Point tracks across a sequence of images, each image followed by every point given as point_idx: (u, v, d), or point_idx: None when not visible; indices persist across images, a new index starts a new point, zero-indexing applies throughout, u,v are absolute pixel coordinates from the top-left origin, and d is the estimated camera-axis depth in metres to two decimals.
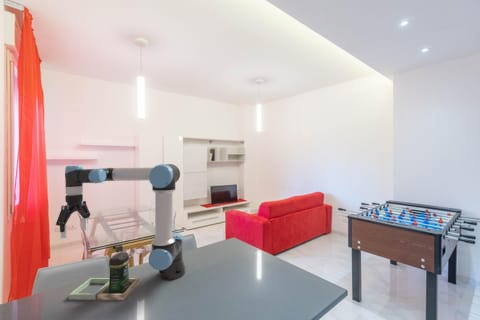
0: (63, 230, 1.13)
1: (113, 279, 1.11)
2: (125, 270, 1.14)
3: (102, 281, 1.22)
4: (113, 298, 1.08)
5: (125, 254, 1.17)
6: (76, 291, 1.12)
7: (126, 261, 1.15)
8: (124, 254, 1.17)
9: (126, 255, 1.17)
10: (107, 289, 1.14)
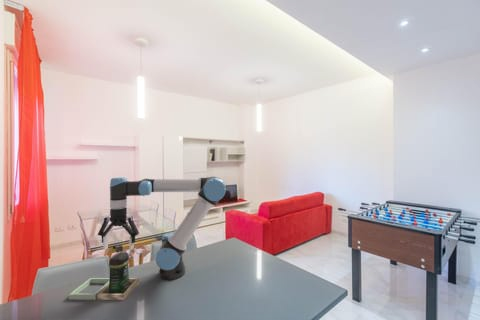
0: (102, 241, 1.15)
1: (113, 279, 1.11)
2: (125, 270, 1.14)
3: (102, 281, 1.22)
4: (113, 298, 1.08)
5: (125, 254, 1.17)
6: (76, 291, 1.12)
7: (126, 261, 1.15)
8: (124, 254, 1.17)
9: (126, 255, 1.17)
10: (107, 289, 1.14)
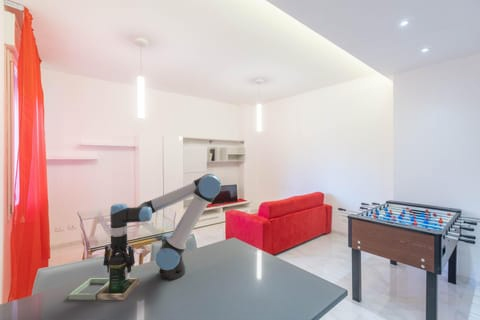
0: (108, 271, 1.15)
1: (112, 278, 1.11)
2: None
3: (102, 281, 1.22)
4: (113, 298, 1.08)
5: None
6: (76, 291, 1.12)
7: None
8: None
9: None
10: (107, 289, 1.14)
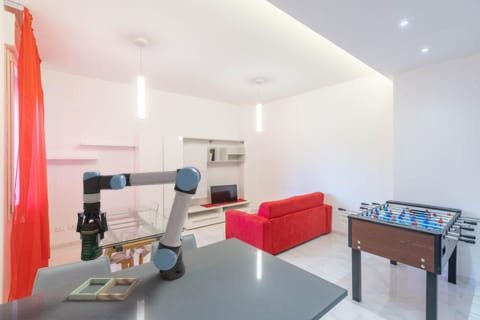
0: (81, 238, 1.15)
1: (84, 244, 1.11)
2: None
3: (102, 281, 1.22)
4: (113, 298, 1.08)
5: None
6: (76, 291, 1.12)
7: None
8: None
9: None
10: (107, 289, 1.14)
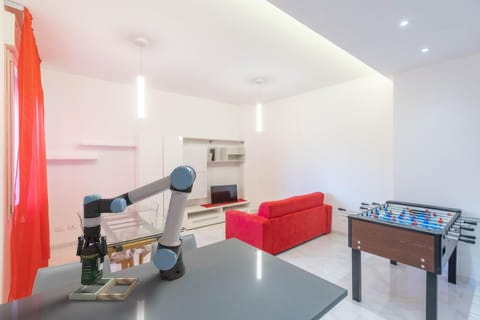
0: (81, 261, 1.15)
1: (85, 269, 1.11)
2: None
3: (102, 281, 1.22)
4: (113, 298, 1.08)
5: None
6: (76, 291, 1.12)
7: None
8: None
9: None
10: (107, 289, 1.14)
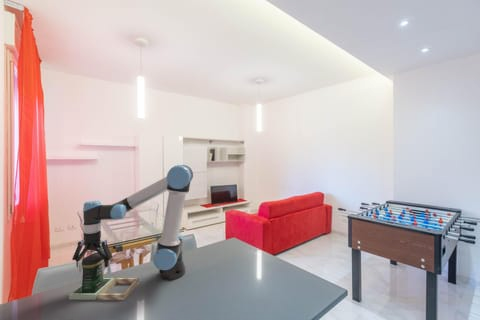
0: (77, 265, 1.15)
1: (85, 278, 1.11)
2: (98, 270, 1.14)
3: None
4: (113, 298, 1.08)
5: None
6: (76, 291, 1.12)
7: (99, 261, 1.15)
8: (98, 254, 1.17)
9: None
10: (107, 289, 1.14)
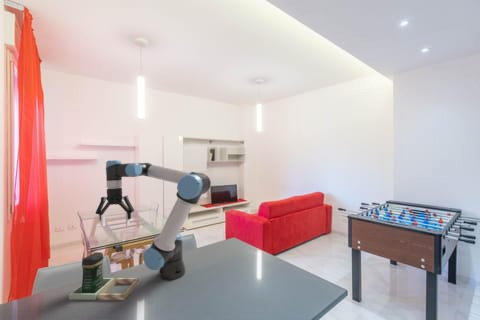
0: (100, 219, 1.25)
1: (85, 278, 1.11)
2: (98, 270, 1.14)
3: None
4: (113, 298, 1.08)
5: (99, 254, 1.18)
6: (76, 291, 1.12)
7: (99, 261, 1.15)
8: (98, 254, 1.17)
9: (100, 255, 1.17)
10: (107, 289, 1.14)
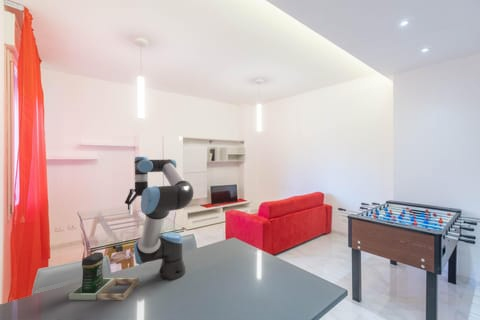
0: (128, 208, 1.41)
1: (85, 278, 1.11)
2: (98, 270, 1.14)
3: None
4: (113, 298, 1.08)
5: (99, 254, 1.18)
6: (76, 291, 1.12)
7: (99, 261, 1.15)
8: (98, 254, 1.17)
9: (100, 255, 1.17)
10: (107, 289, 1.14)
